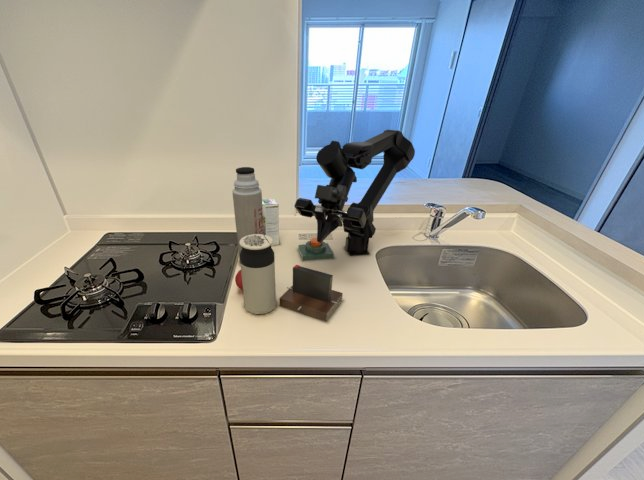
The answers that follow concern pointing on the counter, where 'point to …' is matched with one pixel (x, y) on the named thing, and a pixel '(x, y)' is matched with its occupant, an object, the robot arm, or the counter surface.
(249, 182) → the thermos bottle
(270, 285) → the travel mug
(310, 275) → the lever
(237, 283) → the onion
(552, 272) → the counter surface
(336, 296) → the brown wooden base
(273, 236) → the syrup box
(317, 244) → the button
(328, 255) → the button box
